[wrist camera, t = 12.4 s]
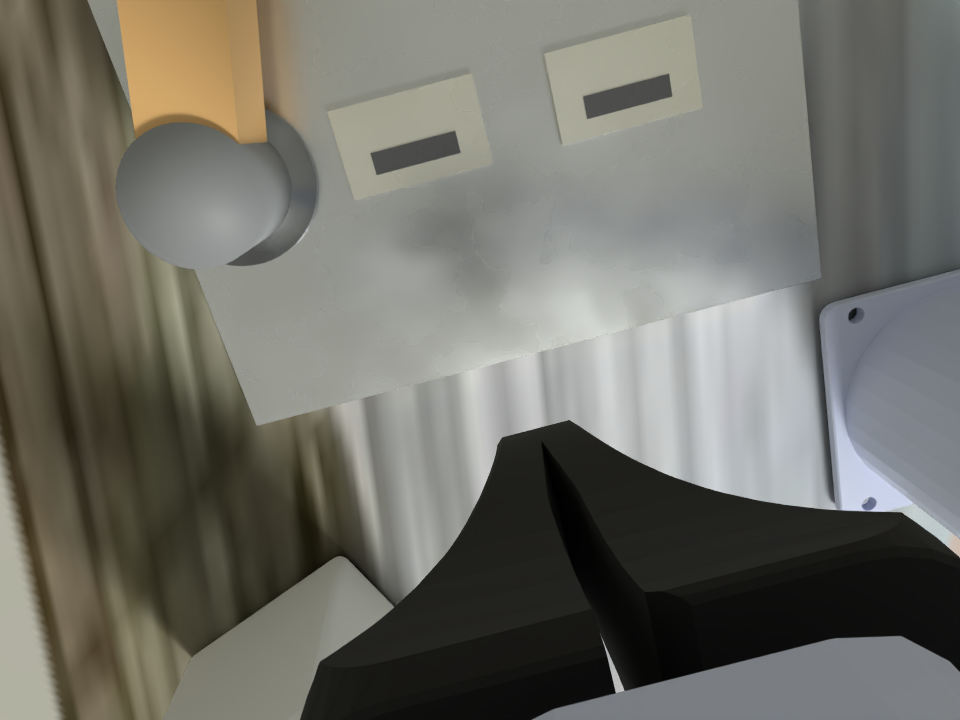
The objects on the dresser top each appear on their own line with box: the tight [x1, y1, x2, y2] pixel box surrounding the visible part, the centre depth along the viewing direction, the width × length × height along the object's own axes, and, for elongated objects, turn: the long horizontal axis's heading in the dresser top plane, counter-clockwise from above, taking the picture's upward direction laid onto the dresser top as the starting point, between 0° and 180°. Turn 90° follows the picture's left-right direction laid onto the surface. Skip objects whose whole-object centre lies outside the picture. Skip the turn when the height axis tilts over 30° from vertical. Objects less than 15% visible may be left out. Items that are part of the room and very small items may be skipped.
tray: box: [88, 0, 821, 426], centre depth 19 cm, size 18×14×1 cm
